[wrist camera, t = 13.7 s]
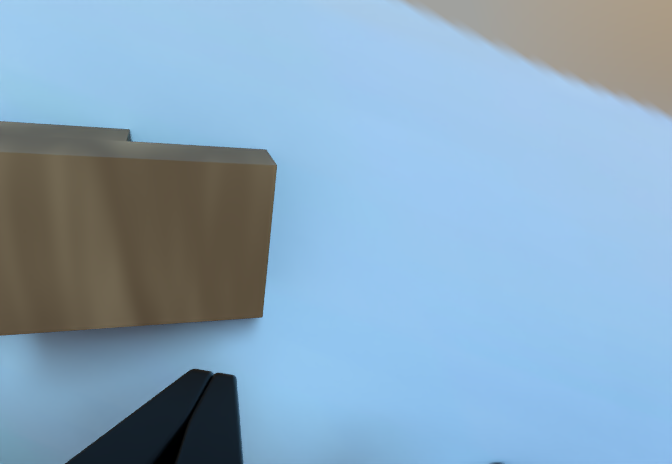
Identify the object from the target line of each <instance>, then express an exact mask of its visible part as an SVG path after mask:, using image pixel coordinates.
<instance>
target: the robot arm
mask: <svg viewBox="0 0 672 464" xmlns="http://www.w3.org/2000/svg"><path fill="white" fill-rule="evenodd" d="M65 464H243V454H242V441H241V429H240V416H239V404H238V391H237V380H236V377H235V376H234V375H229V374H223V373H215V374H213V373H212V372H211V371H205V370H199V369H192V370H190V371H188V372H187V373H186V374H184V375H183V376H182V377H180V378H179V379H178V380H176V381H175V382H173V383H172V384H171V385H169V386H168V387H167V388H165V389H164V390H163V391H161V392H160V393H159V394H157V395H156V396H155V397H153V398H152V399H151V400H149V401H148V402H147V403H145V404H144V405H143V406H141V407H140V408H139V409H137V410H136V411H135V412H133V413H132V414H131V415H129V416H128V417H127V418H125V419H124V420H123V421H121V422H120V423H119V424H117V425H116V426H115V427H113V428H112V429H111V430H109V431H108V432H107V433H105V434H104V435H103V436H101V437H100V438H99V439H97V440H96V441H95V442H93V443H92V444H91V445H89V446H88V447H87V448H85V449H84V450H83V451H81V452H80V453H79V454H77V455H76V456H75V457H73V458H72V459H71V460H69V461H68V462H67V463H65Z"/></svg>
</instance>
